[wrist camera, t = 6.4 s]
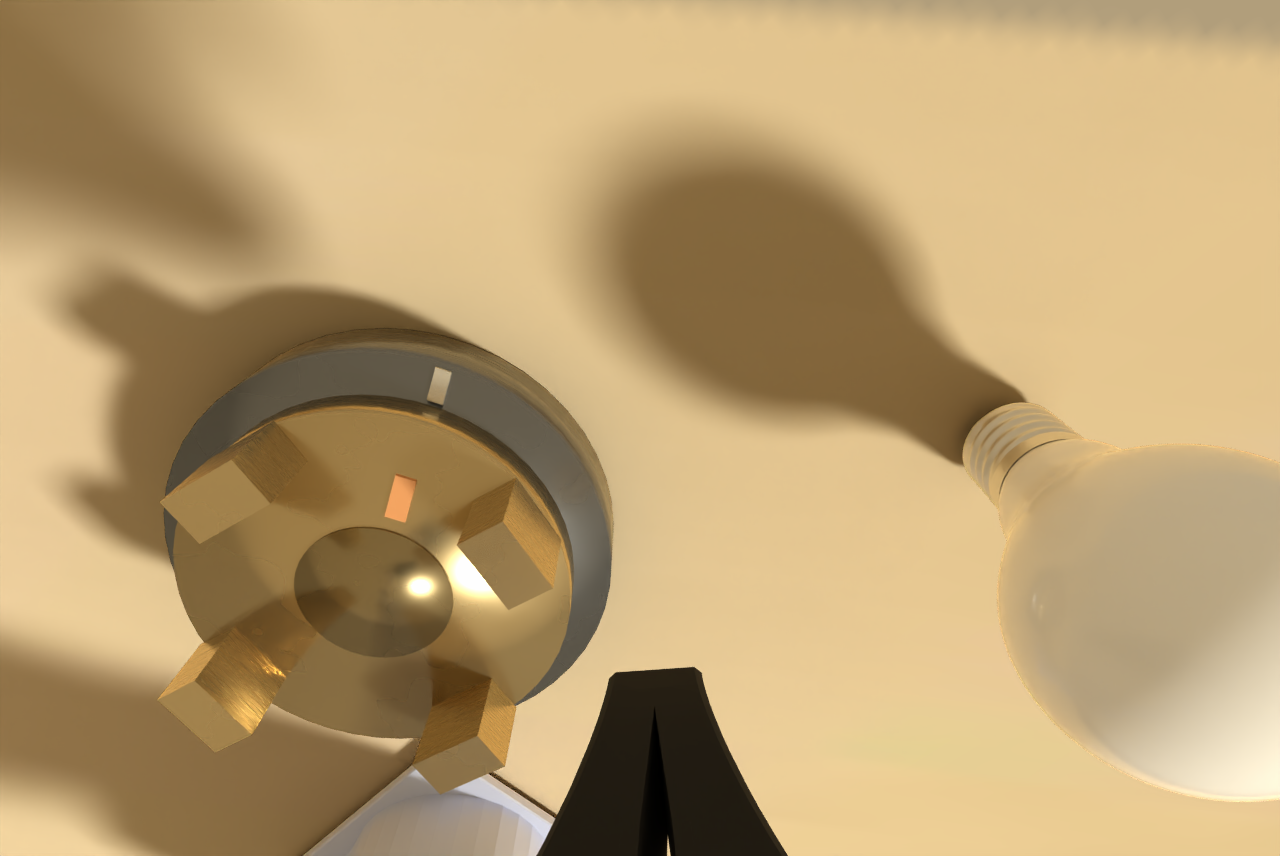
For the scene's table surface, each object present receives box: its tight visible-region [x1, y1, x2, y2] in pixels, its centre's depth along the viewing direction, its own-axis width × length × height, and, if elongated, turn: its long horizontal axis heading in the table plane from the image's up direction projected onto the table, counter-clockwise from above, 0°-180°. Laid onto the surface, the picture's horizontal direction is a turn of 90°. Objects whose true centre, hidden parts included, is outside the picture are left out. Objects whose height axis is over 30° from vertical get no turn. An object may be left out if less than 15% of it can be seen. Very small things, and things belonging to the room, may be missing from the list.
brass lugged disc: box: [157, 394, 574, 795], centre depth 19 cm, size 10×10×3 cm
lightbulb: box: [963, 402, 1280, 802], centre depth 16 cm, size 6×6×11 cm
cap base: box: [164, 328, 614, 706], centre depth 21 cm, size 12×12×2 cm
